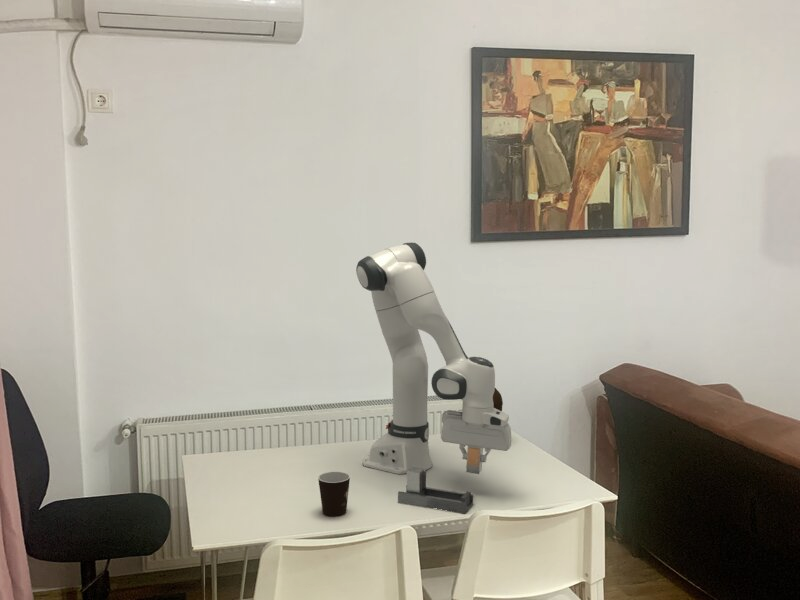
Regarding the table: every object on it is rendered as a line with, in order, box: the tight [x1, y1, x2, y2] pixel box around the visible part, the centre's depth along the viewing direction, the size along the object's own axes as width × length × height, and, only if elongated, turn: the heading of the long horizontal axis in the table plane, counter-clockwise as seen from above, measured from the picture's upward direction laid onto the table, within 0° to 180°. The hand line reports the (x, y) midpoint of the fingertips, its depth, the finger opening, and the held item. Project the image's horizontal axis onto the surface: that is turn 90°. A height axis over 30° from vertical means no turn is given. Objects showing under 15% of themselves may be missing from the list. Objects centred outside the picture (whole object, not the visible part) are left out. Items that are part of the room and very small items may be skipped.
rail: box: [397, 467, 474, 515], centre depth 215 cm, size 20×7×9 cm, turn 67°
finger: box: [465, 445, 484, 475], centre depth 222 cm, size 4×4×8 cm
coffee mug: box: [317, 471, 351, 518], centre depth 210 cm, size 12×9×10 cm
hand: (474, 460), depth 222 cm, fingers closed on finger, 4 cm apart
